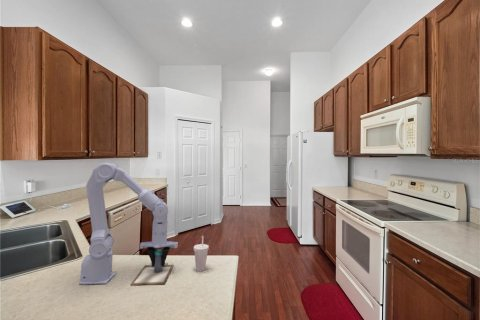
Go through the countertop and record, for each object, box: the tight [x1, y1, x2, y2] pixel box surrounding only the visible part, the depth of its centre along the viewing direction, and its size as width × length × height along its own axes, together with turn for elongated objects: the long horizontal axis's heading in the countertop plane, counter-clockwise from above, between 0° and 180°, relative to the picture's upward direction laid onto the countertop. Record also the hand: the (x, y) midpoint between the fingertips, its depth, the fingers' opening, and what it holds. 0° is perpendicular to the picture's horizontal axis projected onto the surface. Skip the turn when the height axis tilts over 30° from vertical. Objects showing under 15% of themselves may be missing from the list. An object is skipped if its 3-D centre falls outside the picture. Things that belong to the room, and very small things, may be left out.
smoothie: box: [193, 235, 210, 273], centre depth 93 cm, size 6×6×14 cm
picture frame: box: [130, 262, 174, 287], centre depth 88 cm, size 12×16×1 cm
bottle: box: [154, 248, 163, 273], centre depth 90 cm, size 3×3×8 cm
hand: (158, 265), depth 90 cm, fingers closed on bottle, 3 cm apart
